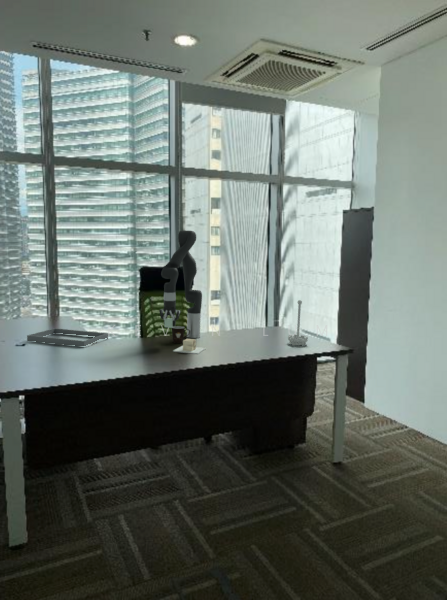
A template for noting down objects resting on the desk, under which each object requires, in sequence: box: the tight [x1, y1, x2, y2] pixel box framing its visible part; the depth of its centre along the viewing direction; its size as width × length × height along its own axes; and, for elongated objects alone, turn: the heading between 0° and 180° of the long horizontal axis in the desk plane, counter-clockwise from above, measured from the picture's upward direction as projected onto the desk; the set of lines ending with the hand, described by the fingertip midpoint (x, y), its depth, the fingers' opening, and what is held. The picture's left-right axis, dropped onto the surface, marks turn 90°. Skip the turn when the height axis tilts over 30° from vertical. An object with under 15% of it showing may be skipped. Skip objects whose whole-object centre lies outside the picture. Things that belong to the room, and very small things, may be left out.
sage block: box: [163, 317, 176, 329], centre depth 282 cm, size 5×5×5 cm
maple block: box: [182, 338, 197, 351], centre depth 273 cm, size 6×6×6 cm
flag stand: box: [287, 299, 309, 346], centre depth 299 cm, size 13×13×30 cm
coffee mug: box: [171, 325, 190, 344], centre depth 295 cm, size 12×9×10 cm
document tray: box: [26, 327, 109, 346], centre depth 291 cm, size 27×42×4 cm, turn 73°
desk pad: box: [172, 345, 207, 355], centre depth 274 cm, size 14×16×1 cm
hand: (169, 325), depth 282 cm, fingers closed on sage block, 5 cm apart
